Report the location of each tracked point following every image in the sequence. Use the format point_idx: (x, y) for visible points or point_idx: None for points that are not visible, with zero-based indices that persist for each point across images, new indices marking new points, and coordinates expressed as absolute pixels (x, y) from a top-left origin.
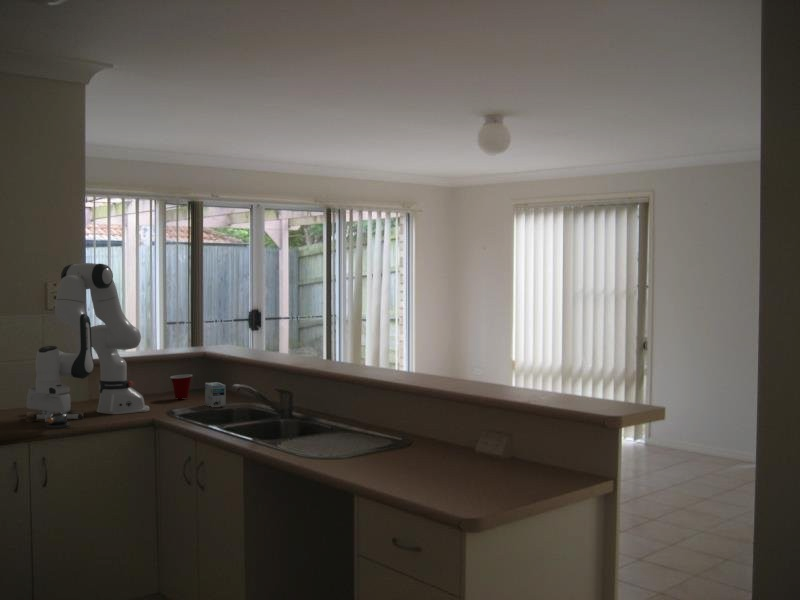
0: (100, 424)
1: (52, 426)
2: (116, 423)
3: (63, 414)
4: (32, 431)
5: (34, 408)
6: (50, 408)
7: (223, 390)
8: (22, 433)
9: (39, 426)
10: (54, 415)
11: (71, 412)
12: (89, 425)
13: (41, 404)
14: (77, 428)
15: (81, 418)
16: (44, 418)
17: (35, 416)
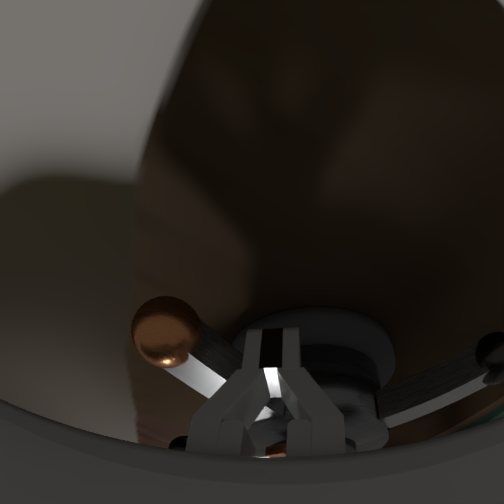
0: (172, 429)
1: (271, 328)
2: (151, 441)
3: (256, 453)
4: (327, 144)
5: (493, 437)
6: (105, 481)
7: None
8: (322, 11)
9: (436, 309)
10: (284, 430)
11: None
12: (184, 415)
13: None
14: (147, 369)
15: (174, 439)
16: (408, 379)
17: (486, 357)
